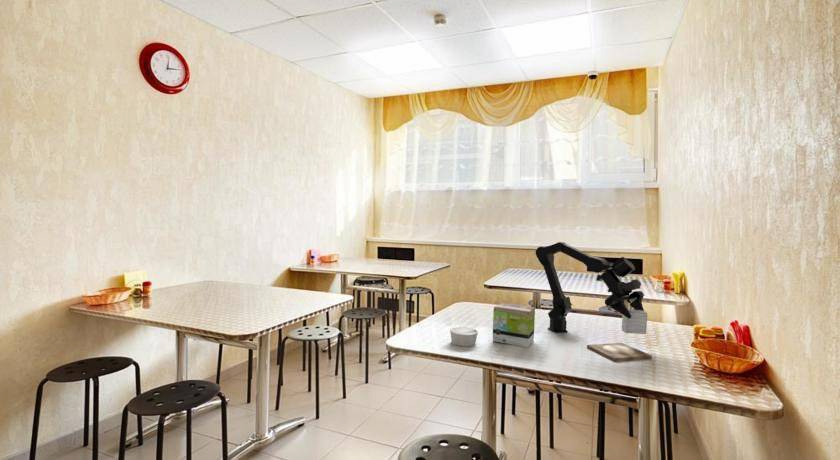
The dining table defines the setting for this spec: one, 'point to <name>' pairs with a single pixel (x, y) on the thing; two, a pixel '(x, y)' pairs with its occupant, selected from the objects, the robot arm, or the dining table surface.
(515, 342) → the tea box
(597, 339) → the dining table surface
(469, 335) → the ramekin
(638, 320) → the medicine box
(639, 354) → the walnut board
